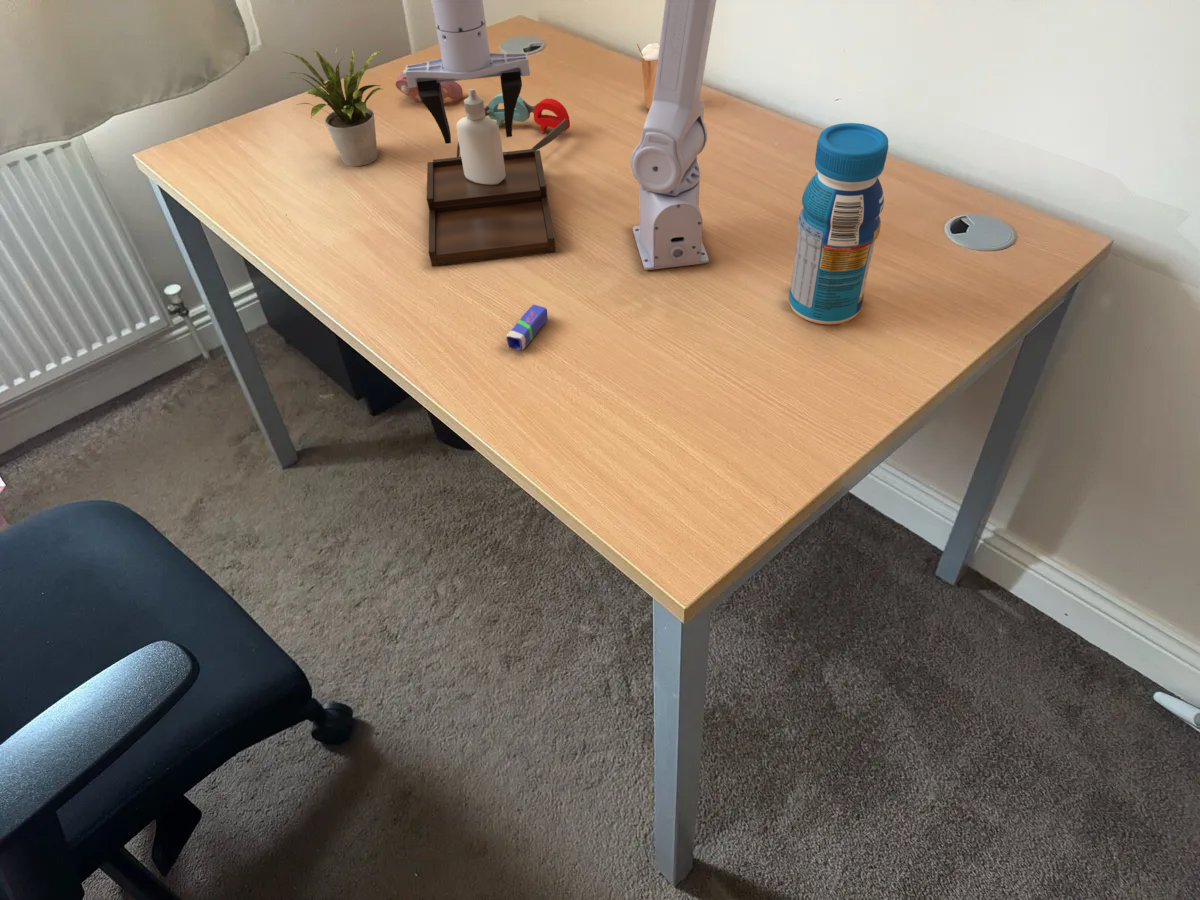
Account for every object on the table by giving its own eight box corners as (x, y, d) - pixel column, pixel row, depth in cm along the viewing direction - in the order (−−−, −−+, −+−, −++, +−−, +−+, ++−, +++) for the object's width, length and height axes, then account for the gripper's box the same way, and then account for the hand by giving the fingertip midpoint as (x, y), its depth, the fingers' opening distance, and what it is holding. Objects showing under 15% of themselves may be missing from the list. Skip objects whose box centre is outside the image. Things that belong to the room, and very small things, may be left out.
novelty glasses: (575, 132, 129) (572, 100, 125) (529, 179, 120) (525, 145, 116) (495, 119, 133) (491, 87, 130) (445, 163, 124) (439, 130, 121)
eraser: (507, 348, 94) (504, 334, 93) (534, 317, 98) (532, 303, 96) (522, 352, 93) (520, 338, 92) (549, 321, 97) (547, 307, 96)
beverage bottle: (771, 306, 97) (791, 139, 82) (815, 274, 101) (842, 109, 86) (834, 337, 93) (866, 167, 78) (877, 302, 96) (916, 134, 82)
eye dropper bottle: (489, 165, 116) (475, 77, 108) (510, 181, 113) (498, 91, 105) (461, 175, 115) (445, 87, 106) (481, 191, 112) (467, 102, 103)
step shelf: (555, 252, 107) (553, 224, 104) (431, 266, 106) (425, 238, 103) (542, 174, 120) (539, 147, 118) (432, 186, 120) (426, 160, 117)
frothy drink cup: (631, 104, 134) (630, 39, 127) (661, 97, 136) (662, 31, 128) (644, 116, 131) (644, 49, 124) (675, 108, 133) (676, 41, 125)
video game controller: (404, 110, 141) (387, 80, 134) (412, 87, 142) (396, 56, 135) (459, 115, 138) (444, 85, 132) (466, 92, 140) (452, 61, 133)
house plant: (285, 178, 123) (246, 64, 111) (328, 134, 132) (296, 24, 121) (375, 186, 120) (345, 69, 109) (412, 140, 130) (388, 28, 118)
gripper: (521, 4, 100) (533, 116, 110) (398, 16, 100) (421, 128, 109) (525, 26, 95) (537, 141, 105) (396, 39, 95) (420, 154, 104)
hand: (478, 136), depth 107 cm, fingers open, 7 cm apart
